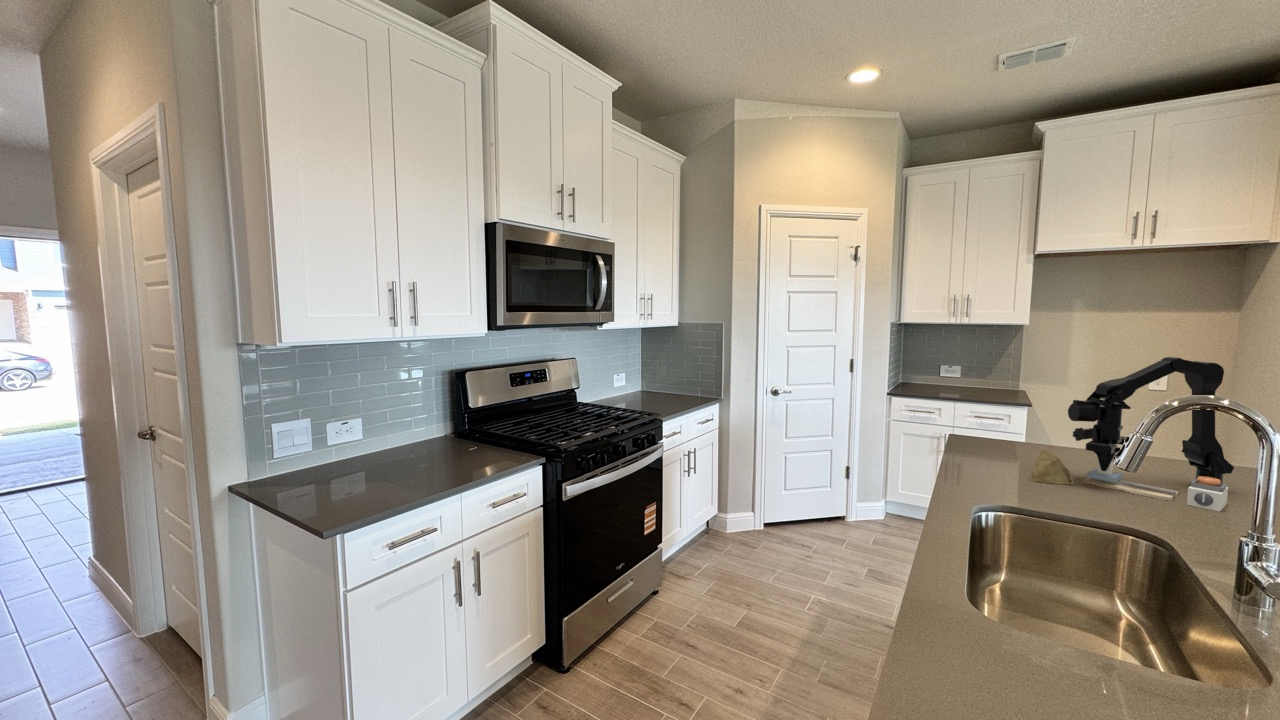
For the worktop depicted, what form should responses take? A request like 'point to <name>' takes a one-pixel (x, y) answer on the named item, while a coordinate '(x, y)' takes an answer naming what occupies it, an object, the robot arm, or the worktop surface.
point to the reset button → (1208, 481)
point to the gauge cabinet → (1207, 496)
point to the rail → (1135, 488)
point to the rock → (1050, 470)
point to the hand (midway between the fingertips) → (1105, 470)
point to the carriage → (1105, 473)
